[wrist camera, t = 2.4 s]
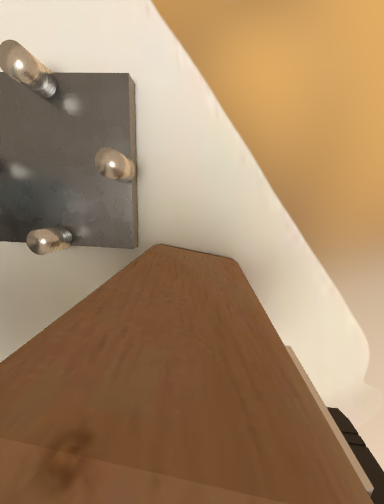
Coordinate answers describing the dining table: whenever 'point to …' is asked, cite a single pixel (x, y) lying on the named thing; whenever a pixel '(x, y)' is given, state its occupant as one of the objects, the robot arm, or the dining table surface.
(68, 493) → the wooden block
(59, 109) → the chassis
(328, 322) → the dining table surface
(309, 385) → the robot arm
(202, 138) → the dining table surface
